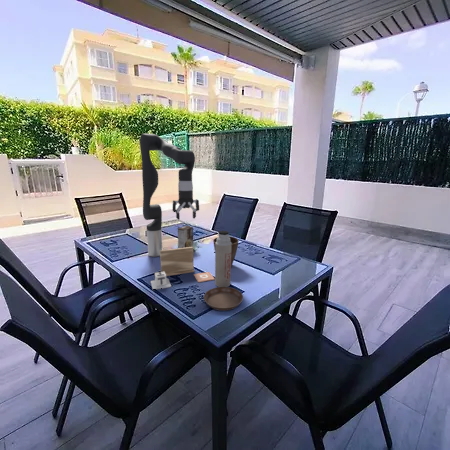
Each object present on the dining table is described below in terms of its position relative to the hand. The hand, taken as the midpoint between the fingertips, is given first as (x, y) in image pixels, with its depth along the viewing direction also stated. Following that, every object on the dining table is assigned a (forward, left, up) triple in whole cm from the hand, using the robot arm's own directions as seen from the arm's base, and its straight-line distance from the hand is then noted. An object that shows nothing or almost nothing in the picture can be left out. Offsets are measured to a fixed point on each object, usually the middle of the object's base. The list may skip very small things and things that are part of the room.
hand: (186, 218), depth 142 cm
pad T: (+13, -17, -30) cm, 37 cm away
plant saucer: (+39, +7, -31) cm, 50 cm away
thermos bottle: (+23, +13, -30) cm, 40 cm away
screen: (+2, -6, -30) cm, 31 cm away
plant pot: (+2, +23, -30) cm, 38 cm away
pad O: (+13, +6, -30) cm, 33 cm away
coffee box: (-32, +7, -30) cm, 45 cm away
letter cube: (+13, -17, -29) cm, 36 cm away
